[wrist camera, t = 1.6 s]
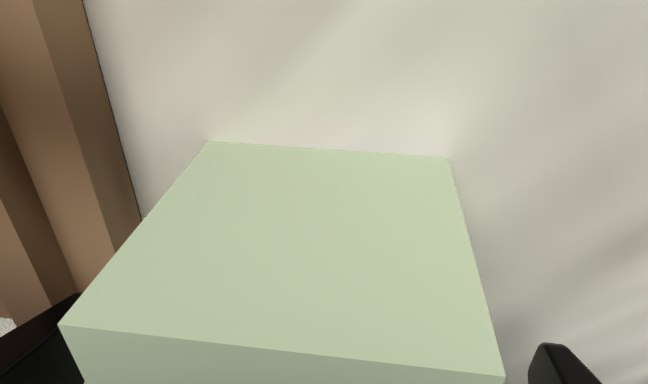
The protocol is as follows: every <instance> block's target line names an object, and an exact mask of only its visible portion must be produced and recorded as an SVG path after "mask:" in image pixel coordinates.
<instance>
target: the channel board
mask: <svg viewBox="0 0 648 384" xmlns="http://www.w3.org/2000/svg"><path fill="white" fill-rule="evenodd" d="M141 222H142V221H141V218H140V214H139V210H138V207H137V203H136V199H135V196H134V192H133V188H132V185H131V181H130V177H129V174H128V170H127V166H126V162H125V159H124V155H123V151H122V148H121V144H120V140H119V137H118V133H117V129H116V126H115V122H114V118H113V115H112V111H111V107H110V104H109V100H108V96H107V92H106V89H105V85H104V81H103V78H102V74H101V70H100V67H99V63H98V59H97V56H96V52H95V48H94V45H93V41H92V37H91V34H90V30H89V26H88V22H87V19H86V15H85V11H84V8H83V4H82V0H0V317H3V318H11V319H13V321H14V323H15V324H16V326H17V327H18V326H20V325H22V324H23V323H25V322H27V321H29V320H30V319H32V318H34V317H35V316H37V315H39V314H40V313H42V312H44V311H45V310H47V309H49V308H50V307H52V306H54V305H55V304H57V303H59V302H60V301H62V300H64V299H65V298H67V297H69V296H70V295H72V294H74V293H76V292H84V291H85V290H86V289H87V287H88V286H89V285H90V284H91V283H92V281H93V280H94V279H95V278H96V277H97V275H98V274H99V273H100V272H101V270H102V269H103V268H104V267H105V266H106V264H107V263H108V262H109V261H110V260H111V258H112V257H113V256H114V255H115V253H116V252H117V251H118V250H119V249H120V247H121V246H122V245H123V244H124V243H125V241H126V240H127V239H128V238H129V237H130V235H131V234H132V233H133V232H134V230H135V229H136V228H137V227H138V226H139V224H140V223H141Z"/></svg>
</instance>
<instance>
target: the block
mask: <svg viewBox="0 0 648 384" xmlns="http://www.w3.org/2000/svg"><path fill="white" fill-rule="evenodd" d="M57 325H58V327H59V329H60V331H61V333H62V335H63V337H64V339H65V342H66V344H67V346H68V348H69V350H70V352H71V354H72V356H73V358H74V360H75V362H76V364H77V366H78V368H79V370H80V372H81V374H82V377H83V379H84V381H85V383H86V384H503V383H504V381H505V379H506V374H505V371H504V367H503V363H502V359H501V355H500V352H499V348H498V344H497V340H496V337H495V333H494V329H493V325H492V321H491V318H490V314H489V310H488V306H487V303H486V299H485V295H484V291H483V287H482V284H481V280H480V276H479V272H478V269H477V265H476V261H475V257H474V253H473V250H472V246H471V242H470V238H469V235H468V231H467V227H466V223H465V220H464V216H463V212H462V208H461V204H460V201H459V197H458V193H457V189H456V186H455V182H454V178H453V174H452V170H451V167H450V163H449V159H448V158H447V157H433V156H418V155H404V154H389V153H375V152H360V151H346V150H331V149H317V148H302V147H288V146H273V145H259V144H244V143H230V142H215V141H208V142H207V143H206V144H205V145H204V147H203V148H202V149H201V150H200V152H199V153H198V154H197V155H196V156H195V158H194V159H193V160H192V161H191V162H190V164H189V165H188V166H187V167H186V169H185V170H184V171H183V172H182V173H181V175H180V176H179V177H178V178H177V179H176V181H175V182H174V183H173V184H172V186H171V187H170V188H169V189H168V190H167V192H166V193H165V194H164V195H163V196H162V198H161V199H160V200H159V201H158V203H157V204H156V205H155V206H154V207H153V209H152V210H151V211H150V212H149V213H148V215H147V216H146V217H145V218H144V220H143V221H142V222H141V223H140V224H139V226H138V227H137V228H136V229H135V230H134V232H133V233H132V234H131V235H130V237H129V238H128V239H127V240H126V241H125V243H124V244H123V245H122V246H121V247H120V249H119V250H118V251H117V252H116V253H115V255H114V256H113V257H112V258H111V260H110V261H109V262H108V263H107V264H106V266H105V267H104V268H103V269H102V270H101V272H100V273H99V274H98V275H97V277H96V278H95V279H94V280H93V281H92V283H91V284H90V285H89V286H88V287H87V289H86V290H85V291H84V292H83V294H82V295H81V296H80V297H79V298H78V300H77V301H76V302H75V303H74V304H73V306H72V307H71V308H70V309H69V311H68V312H67V313H66V314H65V315H64V317H63V318H62V319H61V320H60V321H59V323H58V324H57Z"/></svg>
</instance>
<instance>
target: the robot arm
mask: <svg viewBox="0 0 648 384" xmlns="http://www.w3.org/2000/svg"><path fill="white" fill-rule="evenodd" d="M82 294H83V292H76V293H74V294H72V295H70V296H69V297H67V298H65V299H64V300H62V301H60V302H59V303H57V304H55V305H54V306H52V307H50V308H49V309H47V310H45V311H44V312H42V313H40V314H39V315H37V316H35V317H34V318H32V319H30V320H29V321H27V322H25V323H23V324H22V325H20V326H18V327H17V328H15V329H13V330H12V331H10V332H8V333H7V334H5V335H3V336H2V337H0V384H84V382H85V381H84V379H83V377H82V374H81V372H80V370H79V368H78V366H77V364H76V362H75V360H74V358H73V356H72V354H71V352H70V350H69V348H68V346H67V344H66V342H65V339H64V337H63V335H62V333H61V331H60V329H59V327H58V325H57V324H58V323H59V321H60V320H61V319H62V318H63V317H64V315H65V314H66V313H67V312H68V311H69V309H70V308H71V307H72V306H73V304H74V303H75V302H76V301H77V300H78V298H79V297H80V296H81V295H82ZM528 383H529V384H602V383H601V382H600V381H599V380H598V379H597V377H596V376H595V375H594V374H593V373H592V372H591V371H590V370H589V369H588V368H587V367H586V366H585V365H584V364H583V363H582V362H581V361H580V360H579V359H578V358H577V357H576V356H575V355H574V354H573V353H572V352H571V351H570V350H569V349H568V348H567V347H566V346H564V345H562V344H555V343H541V344H540V345H539V346H538V348H537V351H536V353H535V355H534V357H533V360H532V362H531V364H530V366H529V369H528Z"/></svg>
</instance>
